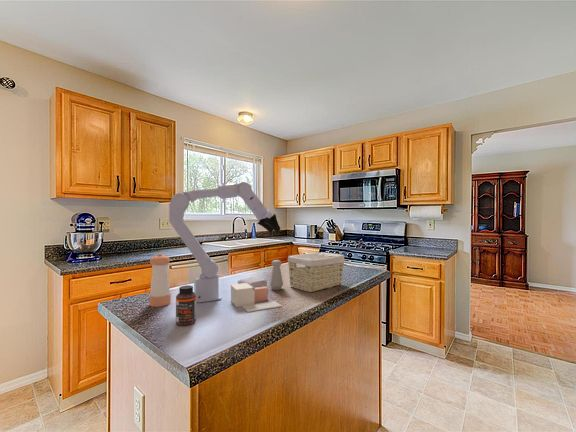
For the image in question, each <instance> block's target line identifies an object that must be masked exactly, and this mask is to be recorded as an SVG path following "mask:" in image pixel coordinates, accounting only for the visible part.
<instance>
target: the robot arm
mask: <svg viewBox="0 0 576 432" xmlns="http://www.w3.org/2000/svg"><path fill="white" fill-rule="evenodd" d="M213 197H218V198H219V199H222V200H224V199H233V198H238V197H240V198H241V200H243V202H244V204H246V206H247V207H248V209H249V210H250V212H252V214H253V215H254V217H255V218H256V219H257V221H258V222H257V224H258V225H259V226H261V227H263V228H264V230H266V231H268V232H269V233H271V234H272V232H273V231H274V232H275V233H278V232H279V231H280V230H281V227H280V225H279V222H278V220H277V214H276V213H274V214H273V213H272V212H271V208H266V206H265V205H264V204H263V203H262V201H261V200H260V198H259V197H258V196H257V194H256V193H255V192H254V191H253V190H252V185H251V184H250V183H248V182H247V181H242V182H239V183H238V182H237V181H236V182H234V183H226V182H222V184H219V185H218V186H217V188H206V189H195V190H194V189H191V190H186V191H184V192H182V193H181V192H178V193H175V194H173V196H172V197H171V199H170V202H169V203H168V204H169V205H168V206H169V207H168V209H169V210H168V211H169V213H168V214H169V215H168V216H169V217H168V220H169V223H170V225H171V227H172V228H173V229H174V230H175V232H176V233H177V235H178V236H179V238H180V239H181V240H182V241H183V243H184V245H185V247H187V249H188V251H189V252H190V253H191V255H192V256H193V257H194V258H195V260H196V262H197V264H198V265H199V267H200V270H201V274H200V275H199V276H198V277H195V278H194V280H193V285H194V286H193V292H194V293H195V294H196V304H197V303H206V302H215V301H220V300H222V297H221V296H220V293H219V291H220V290H219V286H220V285H219V282H220V281H219V279H220V277H219V273H218V272H219V267H218V265H217V262H216V261H215V260H214V258H211V257H210V256H209V255H208V254H207V251H206V250H205V249H204V248H203V246H202V245H201V244H200V242H199V241H198V239H197V238H196V236H195V235H194V233H193V232H192V231H191V230H190V228H189V226H188V225H187V223H186V222H185V220H184V217H185V213H186V211H187V209H188V207H189V205H190V202H191V204H192V203H194V202H195V201H197V200H200V199H205V198H206V199H207V198H213Z"/></svg>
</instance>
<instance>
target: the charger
mask: <svg viewBox="0 0 576 432" xmlns="http://www.w3.org/2000/svg"><path fill="white" fill-rule="evenodd" d="M241 283H249V284H250V285H252V286H253V287H254V288H256V287H264V286H266V287H267V288H268V281H267V279H262V278H259V277H256V276H255V277H254V276H250V277H245V278H241V279H239V280H237V283H236V284H241Z"/></svg>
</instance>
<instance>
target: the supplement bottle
mask: <svg viewBox="0 0 576 432" xmlns="http://www.w3.org/2000/svg"><path fill="white" fill-rule="evenodd" d="M196 320H197V302H196V294H195V293H194V286H193V285H188V284H187V285H182V286H179V293H177V295H176V296H175V324H176V325H177V326H182V327H183V326H191V325H192V324H195V323H196Z"/></svg>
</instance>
